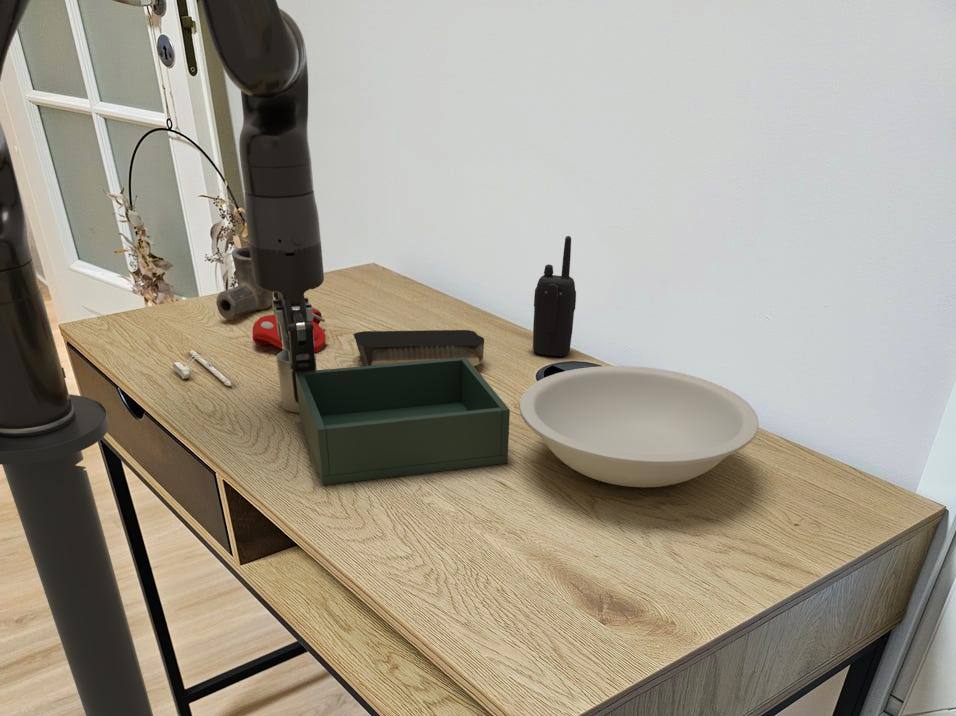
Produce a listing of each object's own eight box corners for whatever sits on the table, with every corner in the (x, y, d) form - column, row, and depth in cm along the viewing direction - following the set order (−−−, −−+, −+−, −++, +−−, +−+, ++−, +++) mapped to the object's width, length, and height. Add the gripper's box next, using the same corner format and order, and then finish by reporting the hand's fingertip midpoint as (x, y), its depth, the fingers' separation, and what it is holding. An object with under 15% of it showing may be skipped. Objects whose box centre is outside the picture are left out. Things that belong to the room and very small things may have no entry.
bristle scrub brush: (359, 377, 112) (357, 348, 110) (356, 353, 119) (355, 326, 116) (486, 373, 114) (487, 345, 112) (477, 350, 121) (477, 323, 119)
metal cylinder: (284, 414, 102) (278, 363, 99) (280, 400, 106) (274, 350, 102) (322, 410, 103) (318, 360, 100) (316, 396, 107) (312, 347, 103)
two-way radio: (573, 351, 121) (583, 234, 112) (567, 362, 118) (577, 242, 109) (533, 347, 122) (540, 230, 113) (527, 358, 119) (533, 239, 110)
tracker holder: (332, 346, 117) (255, 332, 114) (326, 374, 120) (251, 362, 117) (326, 298, 125) (254, 284, 121) (321, 326, 128) (250, 313, 125)
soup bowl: (548, 533, 82) (554, 469, 78) (495, 427, 101) (497, 370, 97) (786, 514, 86) (803, 451, 82) (692, 415, 105) (702, 360, 101)
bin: (322, 485, 89) (317, 429, 85) (300, 423, 100) (295, 371, 97) (507, 463, 94) (510, 409, 90) (465, 406, 105) (466, 356, 102)
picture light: (233, 387, 108) (231, 370, 107) (199, 394, 106) (196, 377, 105) (193, 353, 117) (190, 337, 116) (161, 359, 115) (157, 343, 114)
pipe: (210, 321, 128) (201, 263, 123) (255, 297, 138) (248, 242, 133) (248, 327, 126) (240, 268, 122) (290, 302, 136) (284, 246, 131)
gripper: (242, 224, 98) (262, 375, 108) (255, 257, 87) (277, 421, 97) (309, 220, 100) (323, 369, 110) (331, 252, 89) (344, 414, 99)
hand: (301, 392), depth 104 cm, fingers closed on metal cylinder, 4 cm apart
